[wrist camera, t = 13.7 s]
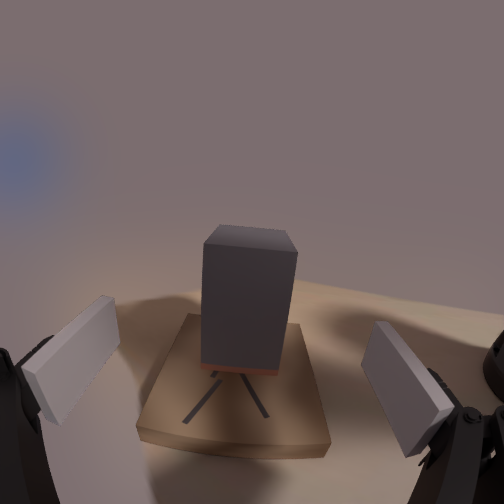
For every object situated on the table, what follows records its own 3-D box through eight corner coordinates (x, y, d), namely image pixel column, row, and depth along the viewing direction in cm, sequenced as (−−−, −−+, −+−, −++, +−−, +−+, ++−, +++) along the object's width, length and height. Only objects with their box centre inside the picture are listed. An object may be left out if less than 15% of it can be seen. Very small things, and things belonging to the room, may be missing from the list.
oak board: (296, 337, 29) (299, 323, 29) (323, 457, 14) (331, 442, 13) (188, 327, 29) (188, 313, 28) (140, 440, 13) (135, 425, 13)
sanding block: (272, 326, 28) (285, 230, 25) (277, 375, 20) (298, 252, 17) (214, 321, 27) (219, 224, 25) (200, 368, 20) (203, 243, 17)
